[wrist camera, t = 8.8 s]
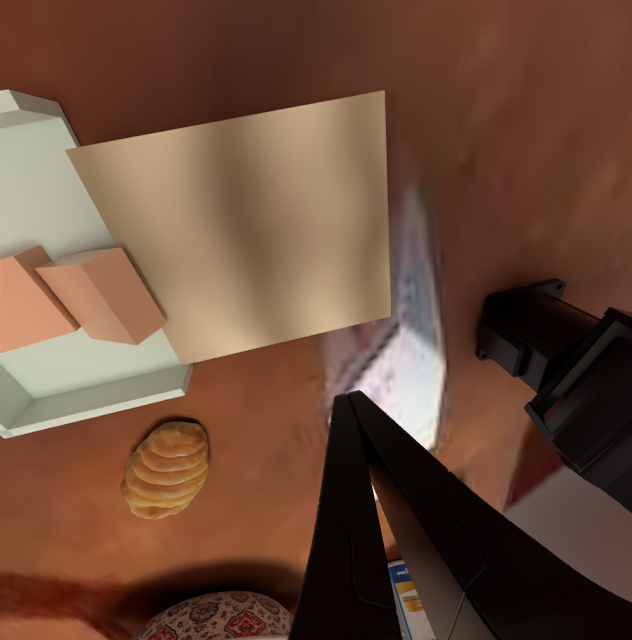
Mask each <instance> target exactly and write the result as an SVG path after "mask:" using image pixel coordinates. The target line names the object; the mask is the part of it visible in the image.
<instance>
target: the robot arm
mask: <svg viewBox="0 0 632 640" xmlns="http://www.w3.org/2000/svg"><path fill="white" fill-rule="evenodd" d="M564 287H565V282H564V281H561V280H559V279H556V280H552V281H547V282H543V283H539V284H535V285H530V286H526V287H522V288H518V289H513V290H509V291H505V292H501V293H497V294H492V295H490V296H489V297H487V299H486V301H485V307H484V312H483V318H482V324H481V330H480V336H479V342H478V347H477V353H476V356H477V358H478V359H480V360H481V361H483V360H487V359H491V358H492V359H493V360H494V361H495V362H497V363H498V364H499V365H500V366H501V367H502V368H503V369H505V370H506V371H507V372H508V373H509V374H510V375H511V376H513V377H519V378H520V379H521V380H523V381H524V382H525V383H526V384H527V385H528V386H530V387H531V388H532V389H533V390H534V391H535V392H536V393H538V394H537V395H536V396H535V397H534V398H533V399H532V401H531V402H528V403H527V404H526V405H525V407H524V409H525V410H526V412H527V413H528V415H529V416H530V417H531V419H532V420H533V422H534V423H535V425H536V426H537V427H538V429H539V430H540V432H541V433H542V434H543V436H544V437H545V439H546V440H547V441H548V443H549V444H550V446H551V447H552V448H553V450H554V451H555V453H556V454H557V455H558V457H559V458H560V459H561V461H562V462H563V464H564V465H565V466H567V467H568V468H570V469H572V470H573V471H574V472H575V473H577V474H578V475H579V476H581V477H582V478H584V479H585V480H586V481H588V482H590V483H591V484H593V485H595V486H596V487H598V488H600V489H602V490H603V491H605V492H606V493H607V494H608V495H610V496H611V497H612V498H614V499H615V500H616V501H618V502H619V503H620V504H621V505H623V506H624V507H625V508H626V509H627V510H629V511H630V512H631V513H632V313H631V312H628V311H624V310H620V309H617V308H613V307H609V308H608V309H607V310H606V312H605V313H604V315H605V316H604V317H603V318H602V319H600V318H598V317H595V316H593V315H591V314H589V313H587V312H585V311H583V310H581V309H579V308H577V307H575V306H573V305H571V304H569V303H567V302H564V301H562V300H560V299H561V296H562V293H563V290H564ZM493 300H494V301H493ZM492 301H493V302H492ZM371 482H372V483H371ZM372 485H373V487H374V489H375V492H376V494H377V497H378V499H379V502H380V504H381V506H382V509H383V511H384V514H385V516H386V519H387V521H388V523H389V526H390V528H391V531H392V533H393V536H394V538H395V541H396V543H397V545H398V548H399V550H400V553H401V555H402V558H403V560H404V562H405V565H406V567H407V570H408V572H409V575H410V577H411V579H412V582H413V584H414V587H415V589H416V592H417V594H418V596H419V599H420V601H421V604H422V606H423V609H424V611H425V614H426V616H427V618H428V621H429V623H430V626H431V628H432V631H433V633H434V635H435V638H436V640H632V602H630V601H627V600H625V599H623V598H621V597H619V596H617V595H615V594H613V593H612V592H610V591H608V590H606V589H604V588H602V587H601V586H599V585H598V584H596V583H594V582H593V581H591V580H589V579H588V578H586V577H585V576H583V575H582V574H580V573H578V572H577V571H576V570H574V569H573V568H572V567H571V566H569V565H567V564H566V563H565V562H564V561H562V560H561V559H560V558H558V557H557V556H556V555H554V554H553V553H552V552H551V551H549V550H548V549H547V548H545V547H544V546H542V545H541V544H540V543H539V542H537V541H536V540H535V539H533V538H532V537H531V536H529V535H528V534H526V533H525V532H524V531H523V530H521V529H520V528H519V527H517V526H516V525H515V524H513V523H512V522H511V521H509V520H508V519H507V518H505V517H504V516H503V515H502V514H500V513H499V512H498V511H497V510H495V509H494V508H493V507H491V506H490V505H489V504H488V503H486V502H485V501H484V500H482V499H481V498H480V497H479V496H478V495H477V494H476V493H474V492H473V491H472V490H471V489H470V488H469V487H467V486H466V485H465V484H464V483H463V482H462V481H460V480H459V479H458V478H457V477H456V476H455V475H454V474H453V473H452V472H450V471H448V469H447V468H446V467H445V466H444V465H443V464H442V463H440V462H439V461H438V460H437V459H436V458H435V457H434V456H433V455H432V454H430V453H429V452H428V451H427V450H426V449H425V448H424V447H423V446H422V445H420V444H419V443H418V442H417V441H416V440H415V439H414V438H413V437H412V436H411V435H409V434H408V433H407V432H406V431H405V430H404V429H403V428H402V427H401V426H399V425H398V424H397V423H396V422H395V421H394V420H393V419H392V418H391V417H389V416H388V415H387V414H386V413H385V412H384V411H383V410H382V409H381V408H379V407H378V406H377V405H376V404H375V403H374V402H373V401H372V400H371V399H369V398H368V397H367V396H366V395H365V394H364V393H363V392H362V391H360V390H358V391H353V392H349V393H348V395H347V394H346V393H344V394H340V395H336V396H335V397H334V402H333V408H332V415H331V422H330V429H329V436H328V443H327V449H326V456H325V463H324V470H323V477H322V484H321V491H320V497H319V505H318V510H317V517H316V523H315V528H314V534H313V540H312V545H311V549H310V554H309V558H308V562H307V567H306V571H305V575H304V579H303V582H302V586H301V590H300V594H299V598H298V601H297V605H296V609H295V613H294V617H293V620H292V624H291V628H290V632H289V636H288V639H287V640H403V638H402V633H401V628H400V623H399V618H398V615H397V608H396V603H395V598H394V593H393V588H392V583H391V578H390V573H389V568H388V563H387V558H386V553H385V548H384V543H383V538H382V533H381V528H380V523H379V518H378V513H377V508H376V503H375V498H374V493H373V488H372Z"/></svg>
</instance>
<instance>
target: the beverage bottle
mask: <svg viewBox="0 0 632 640" xmlns="http://www.w3.org/2000/svg"><path fill="white" fill-rule="evenodd" d="M388 568H389V573H390V578H391V583H392V588H393V593H394V598H395V603H396V608H397V615H398V618H399V623H400V628H401V633H402V638H403V640H436V638H435V635H434V633H433V631H432V628H431V626H430V623H429V621H428V618H427V616H426V614H425V611H424V609H423V606H422V604H421V601H420V599H419V596H418V594H417V592H416V589H415V587H414V584H413V582H412V579H411V577H410V575H409V572H408V570H407V567H406V565H405V562H404V560H403V559H402V560H396V561H392V562H389V563H388Z"/></svg>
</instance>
